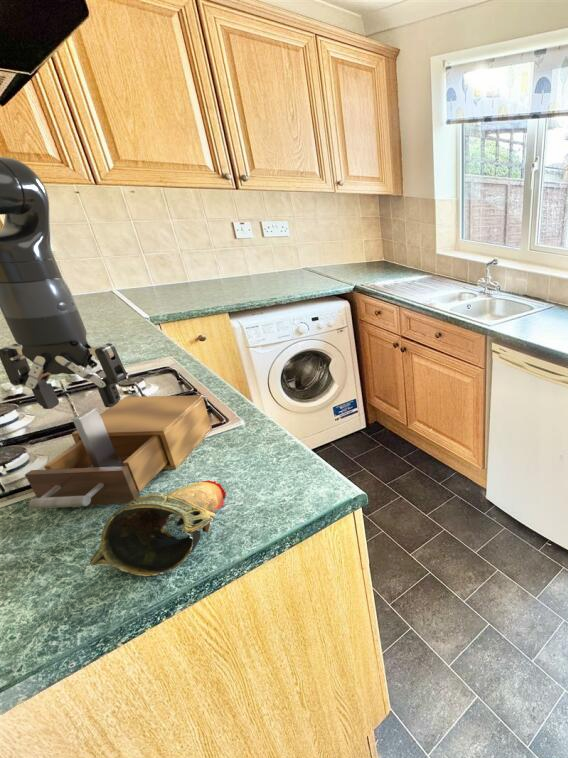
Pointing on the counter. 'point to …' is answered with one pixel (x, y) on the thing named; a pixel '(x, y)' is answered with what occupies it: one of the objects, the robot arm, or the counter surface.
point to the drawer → (98, 474)
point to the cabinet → (160, 422)
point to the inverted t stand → (96, 439)
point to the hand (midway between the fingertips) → (82, 405)
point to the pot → (158, 529)
